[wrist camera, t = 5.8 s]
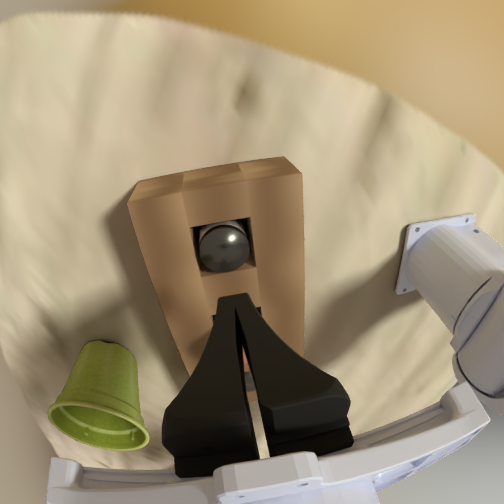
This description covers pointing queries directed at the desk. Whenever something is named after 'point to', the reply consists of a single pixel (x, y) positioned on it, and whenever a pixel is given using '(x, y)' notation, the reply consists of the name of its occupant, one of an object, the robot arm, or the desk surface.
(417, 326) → the desk surface
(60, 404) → the plant pot
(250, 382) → the plug
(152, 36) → the desk surface
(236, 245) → the plug
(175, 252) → the socket block
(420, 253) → the robot arm
